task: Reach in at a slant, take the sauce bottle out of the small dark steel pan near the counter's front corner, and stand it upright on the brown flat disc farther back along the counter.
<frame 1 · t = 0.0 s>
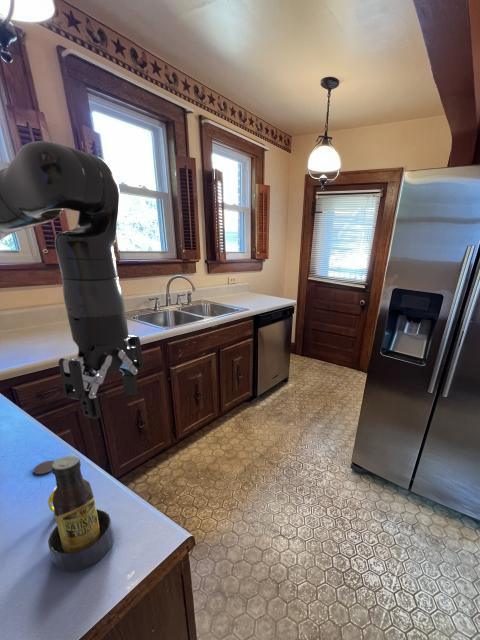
hand: (113, 404, 52), 30 cm above the counter, tool pointing down, fingers open, 8 cm apart
sauce bottle: (85, 546, 60), resting on pan
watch: (68, 508, 69), on the counter
brown flat disc: (45, 468, 80), on the counter
pan: (85, 546, 60), on the counter
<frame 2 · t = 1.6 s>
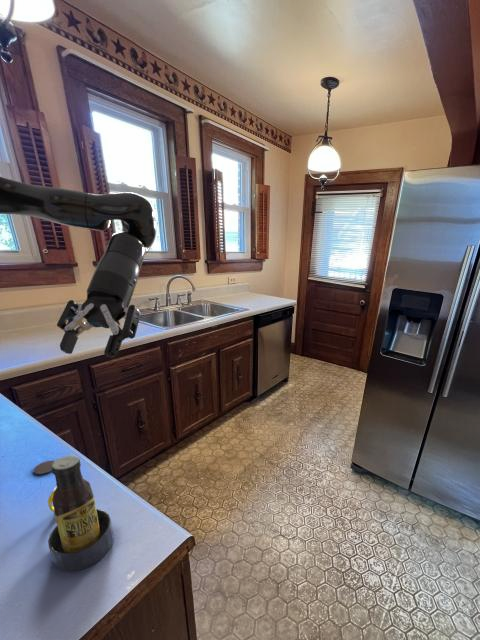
hand: (87, 354, 57), 36 cm above the counter, tool tilted 45°, fingers open, 8 cm apart
nothing on the counter moved.
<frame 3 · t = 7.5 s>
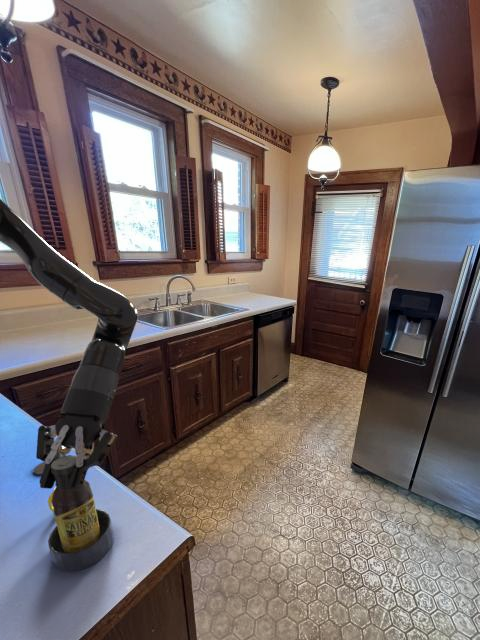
hand: (59, 489, 52), 16 cm above the counter, tool tilted 45°, fingers closed on sauce bottle, 4 cm apart
sauce bottle: (85, 546, 60), resting on pan, touching gripper
everything else where it was.
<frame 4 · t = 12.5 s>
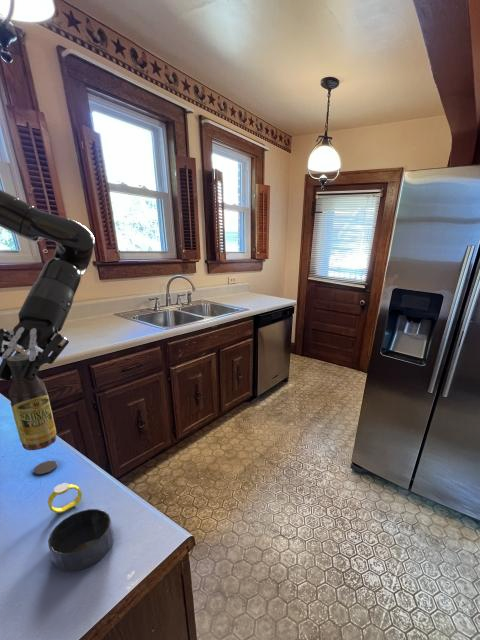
hand: (14, 379, 60), 30 cm above the counter, tool tilted 45°, fingers closed on sauce bottle, 4 cm apart
sauce bottle: (42, 443, 68), point 13 cm above the counter, touching gripper
everything else where it was.
when the fingers open (16 cm above the counter, at t = 18.0 s): sauce bottle stays where it is, resting on brown flat disc.
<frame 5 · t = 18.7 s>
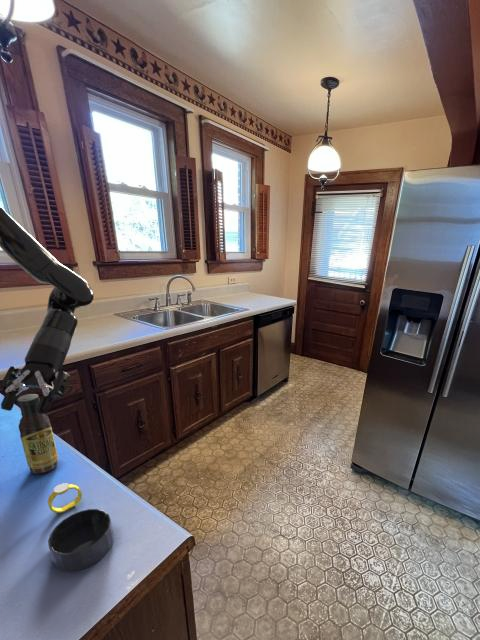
hand: (23, 411, 72), 17 cm above the counter, tool tilted 45°, fingers open, 8 cm apart
sauce bottle: (46, 467, 80), resting on brown flat disc
everything else where it was.
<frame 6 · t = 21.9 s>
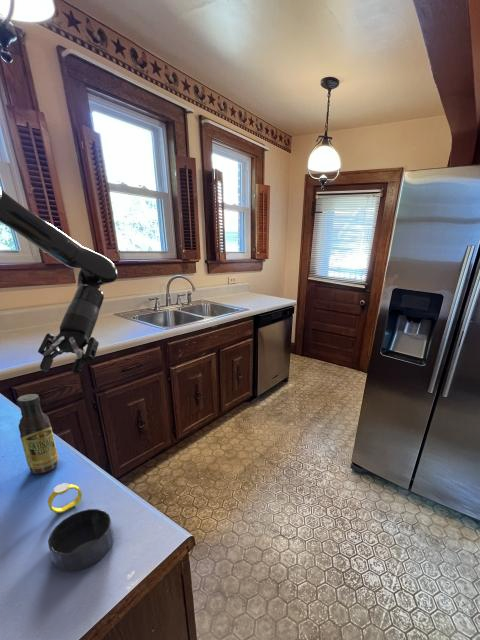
hand: (59, 372, 82), 22 cm above the counter, tool tilted 45°, fingers open, 8 cm apart
nothing on the counter moved.
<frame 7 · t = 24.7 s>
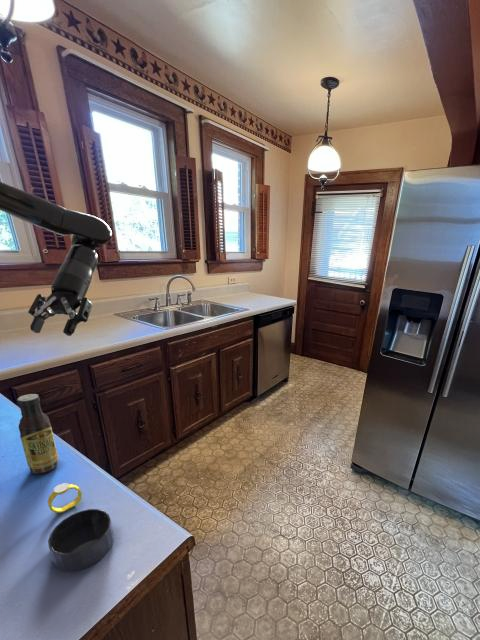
hand: (50, 333, 78), 33 cm above the counter, tool tilted 45°, fingers open, 8 cm apart
nothing on the counter moved.
at the end: sauce bottle 0.3 cm off-centre on the brown flat disc, point 0.1 cm above the brown flat disc's base; sauce bottle tilted 0°; the gripper is holding nothing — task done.
